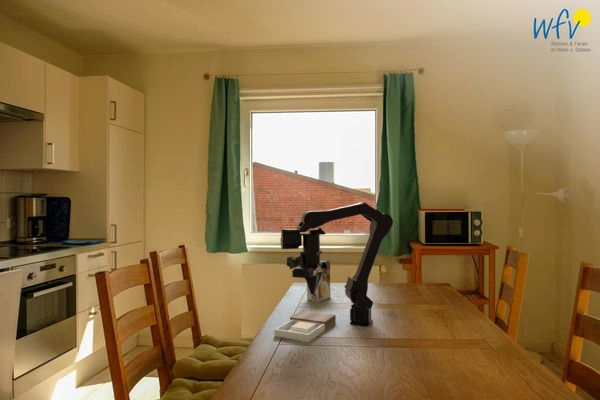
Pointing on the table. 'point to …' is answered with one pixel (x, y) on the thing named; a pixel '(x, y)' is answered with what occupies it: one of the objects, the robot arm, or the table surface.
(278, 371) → the table surface
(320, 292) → the coffee box
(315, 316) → the brown rectangular slab
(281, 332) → the box
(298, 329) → the block
